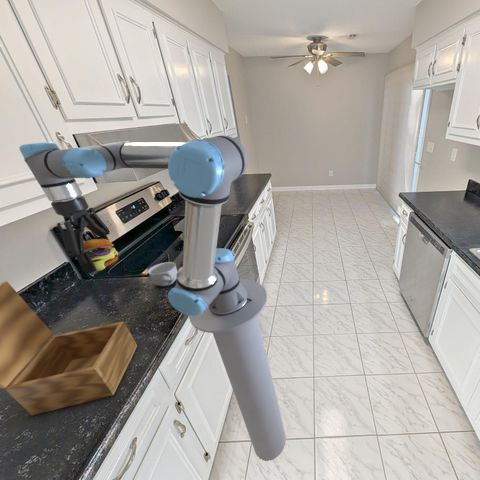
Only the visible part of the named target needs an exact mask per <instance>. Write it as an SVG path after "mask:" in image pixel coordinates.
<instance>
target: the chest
mask: <svg viewBox="0 0 480 480" xmlns="http://www.w3.org/2000/svg"><path fill="white" fill-rule="evenodd" d="M137 348H138V344H137V342H136V340H135V339H134V337H133V335H132V334H131V332H130V330H129V328H128V326H127V324H126V323H125V321H119V322H114V323H108V324H104V325H99V326H93V327H88V328H84V329H79V330H75V331H69V332H65V333H64V332H63V333H60V334H53V335H52V336H51V337H50V339H49V340H48V341H47V342H46V343H45V344H44V345H43V346H42V348H41V349H40V350H39V351H38V352H37V353H36V354H35V355H34V357H33V358H32V359H31V360H30V361H29V362H28V363H27V364H26V366H25V367H24V368H23V369H22V370H21V371H20V372H19V373H18V375H17V376H16V377H15V378H14V379H13V380H12V381H11V382H10V383H9V385H8V386H7V387H6V388H4V389H5V391H6V392H7V393H8V394H9V395H10V396H11V397H12V398H13V399H14V400H15V401H16V402H17V403H18V404H19V405H21V407H22V408H23V409H25V410H26V411H27V413H29V414H30V415H31V416H35V415H39V414H44V413H48V412H51V411H56V410H60V409H65V408H68V407H71V406H72V407H73V406H76V405H79V404H84V403H88V402H91V401H95V400H99V399H105V398H107V397H111V396H114V395H115V393H116V391H117V389H118V387H119V385H120V383H121V382H122V379H123V377H124V375H125V373H126V370H127V369H128V367H129V364H130V362H131V360H132V358H133V356H134V354H135V352H136V350H137Z"/></svg>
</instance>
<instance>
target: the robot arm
mask: <svg viewBox="0 0 480 480" xmlns="http://www.w3.org/2000/svg"><path fill="white" fill-rule="evenodd" d="M19 151H20V153H21V155H22V157H23V160H24V162H25V163H26V165H27V167H28V169H29V170H30V171H31V173H32V175H33V177H34V178H35V180H36V181H37V183H38V184H39V185H40V187H41V190H42V191H43V193H44V194H45V196H46V198H47V200H48V201H50V202H51V203H50V205H51V207H52V209H53V211H54V212H55V214H56V215H58V216H62V217H63V220H64V221H62V222H57V223H56V225H57V228H58V230H59V231H60V235H61V238H62V242H63V245H64V249H65V251H66V252H65V254H66V256H67V257H75V258H77V259H76V260H77V261H78V262H79V264H80V265H81V267H82V269H83V270H84V272H85V274H86V273H92V272H97V271H96V270H97V269H96V267H95V265H94V264H93V262H92V260H91V258H90V256H89V255H88V253H87V252H84V243H83V242H84V232H85V228H86V229H88V230H89V231H91V232H92V233H93V234H95V235H96V239H106V240H108V241H110V240H109V237H108V235H110V231H109V227H108V226H107V225H106V224H105V223H104V221H103V220H101V218H100V217H99V216H98V214H97V213H96V211H95V209H94V208H93V207H89V206H90V205H89V203H88V202H87V199H86V198H85V197H84V196H83V192H82V190H81V188H80V186H79V185H78V183H77V181H76V179H91V178H97V177H100V176H102V175H103V174H105V173H109V172H112V171H117V170H120V169H161V170H164V169H165V170H166V169H167V170H168V176H169V179H170V180H171V181H173V182H174V183H173V186H174V187H175V188H176V189H177V190H178V194H179V196H180V197H181V198H182V199H183V200H185V201H184V202H185V203H184V225H183V226H184V227H183V228H184V229H183V250H182V251H183V253H182V266H181V267H180V268H179V269H177V279H176V280H175V281H176V282H175V286H173V287H171V289H170V290H169V291H168V293H167V300H168V302H169V304H170V305H171V306H172V307H173V308H174V309H175V310H176V311H178V312H179V313H181V314H183V315H186V316H188V317H189V316H197V315H200V314H202V313H203V312H204V311H205V310H206V309H207V308H208V307H209V310H210V312H211V313H213V314H215V315H219V316H224V315H230V314H233V313H235V312H237V311H239V310H241V309H242V308H243V307H244V306H245V305H246V304H247V302H248V300H249V301H251V299H249V296H248V293H247V291H246V289H245V288H244V286H243V285H242V284H241V282H240V280H241V279H240V277H239V273H238V269H237V264H236V261H235V257H234V253H233V252H232V251H231V250H230V249H229V248H221V247H219V248H218V239H219V238H218V237H219V230H220V221H221V213H222V206H223V204H226V203H227V202H228V201H229V200H230V193H231V185H232V182H234V181H235V180H237V179H239V178H240V177H241V176H243V175H244V174H245V173H246V170H247V168H248V165H249V156H248V152H247V150H246V148H245V147H244V144H242V143H241V142H240V141H239V140H238V139H237V138H235V137H232V136H230V135H224V134H223V135H216V136H212V137H204V138H200V139H198V138H197V139H191V140H189V141H161V142H160V141H157V142H155V141H154V142H153V141H152V142H151V141H147V142H145V141H143V142H137V141H136V142H132V141H127V140H126V141H125V140H123V141H122V140H121V141H115V142H110V143H103V144H94V145H88V146H81V147H74V148H64V149H63V148H62V149H60V147H59V146H58V144H57V143H56V142H54V141H43V142H34V143H33V142H32V143H26V144H25V143H24V144H21V145H20V146H19ZM112 248H114V246H112Z"/></svg>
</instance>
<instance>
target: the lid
mask: <svg viewBox="0 0 480 480" xmlns="http://www.w3.org/2000/svg"><path fill="white" fill-rule="evenodd" d="M52 336H54V333H53V332H52V331H51V329H50V328H49V327H48V326H47V325H46V324H45V323H44V322H43V320H42V319H41V318H40V317H39V315H37V314H36V312H35V311H34V310H33V309H32V308H31V307H30V306H29V304H28V303H27V302H26V301H25V300H24V299H23V297H21V295H20V294H19V293H18V292H17V291H16V289H15V288H14V287H13V286H12V285H11V284H10V283H9V282H8V281H7V280H6V281H2V282H1V283H0V389H6V388H7V387H8V386H9V385H10V384H11V382H12V381H13V380H14V379H15V378H16V377H17V376H18V375H19V373H20V372H21V371H22V370H23V369H24V368H25V367H26V366H27V364H28V363H29V362H30V361H31V360H32V359H33V358H34V357H35V355H36V354H37V353H38V352H39V351H40V350H41V349H42V348H43V346H44V345H45V344H46V343H47V342H48V341H49V340H50V339H51V337H52Z"/></svg>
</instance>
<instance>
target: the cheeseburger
mask: <svg viewBox="0 0 480 480" xmlns="http://www.w3.org/2000/svg"><path fill="white" fill-rule="evenodd" d="M83 243H84V252H87V253H88V255H89V256H90V258H91V260H92V262H93V264H94V265H95V267H96V269H97V270H96V271H95V272H99V271H103V270H105V269H106V268H107V267H108V266H111V265H112V264H114V263H115V262H117V261H118V260H119V252H118V250H116V248H115V247H114V246H115V244H114V243H112V242H111V241H110V240H109V241H108V240H106V239H97V238H92V239H88V240H83ZM112 247H113V248H112ZM74 260H77V258H76V257H75V258H74Z"/></svg>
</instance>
